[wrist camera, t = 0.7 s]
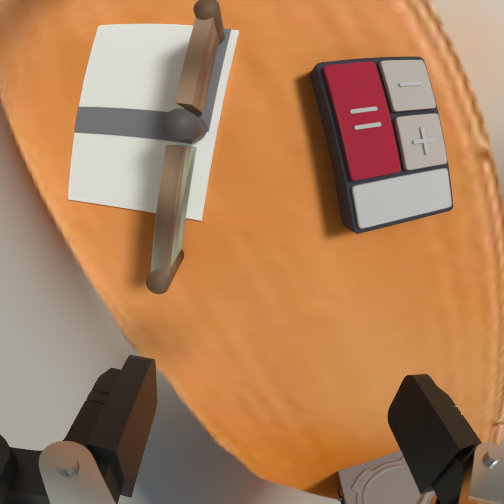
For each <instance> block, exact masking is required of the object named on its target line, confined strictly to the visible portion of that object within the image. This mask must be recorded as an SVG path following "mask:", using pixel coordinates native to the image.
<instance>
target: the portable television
mask: <svg viewBox="0 0 504 504" xmlns="http://www.w3.org/2000/svg"><path fill="white" fill-rule="evenodd" d="M338 473H339V478H340V483H341V487H339V488H338V489H337V493H338V496H337V498H338V501H341V504H430V501H431V499H432V498H433V496H434V495H435V492H434V491H431V492H428V493H424V494H420V492H419V490H418V488H417V485H416V483H415V481H414V478H413V476H412V474H411V472H410V469H409V467H408V465H407V463H406V461H405V458H404V456H403V454H402V452H401V450H399V451H396V452H394V453H391V454H388V455H386V456H383V457H380V458H377V459H374V460H371V461H369V462H365V463H362V464H359V465H356V466H353V467H350V468H346V469H343V470H339V471H338ZM340 488H342V493H343V496H340V494H339V489H340ZM344 501H345V502H344Z"/></svg>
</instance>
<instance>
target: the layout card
mask: <svg viewBox="0 0 504 504" xmlns="http://www.w3.org/2000/svg"><path fill="white" fill-rule="evenodd" d="M192 29H193V26H191V25H174V24H116V25H100V26H98V29H97V33H96V36H95V39H94V43H93V46H92V50H91V54H90V58H89V62H88V66H87V70H86V74H85V78H84V83H83V88H82V92H81V97H80V103H79V107H78V113H77V119H76V125H75V132H74V140H73V148H72V157H71V167H70V178H69V192H68V200H75V201H82V202H88V203H95V204H101V205H108V206H114V207H121V208H127V209H133V210H140V211H146V212H152V213H156V210H157V202H158V194H159V186H160V179H161V172H162V166H163V159H164V153H165V147H166V145H185V146H192V147H197V151H196V156H195V162H194V168H193V174H192V180H191V186H190V193H189V199H188V206H187V213H186V218H188V219H194V220H200V221H202V216H203V210H204V204H205V198H206V192H207V186H208V180H209V174H210V169H211V163H212V157H213V152H214V147H215V141H216V136H217V131H218V126H219V121H220V116H221V111H222V106H223V101H224V96H225V91H226V87H227V82H228V78H229V73H230V69H231V64H232V60H233V55H234V51H235V47H236V43H237V38H238V34H239V31H237V30H231V29H224V34H225V38H224V41H223V42H222V43H221V44H219V46H218V50H217V54H216V58H215V63H214V67H213V71H212V76H211V80H210V85H209V89H208V94H207V99H206V104H205V108H204V113H203V114H202V113H195V112H190V113H192V114H194V115H195V116H197V117H198V118H200V119H201V120H203V121H204V122H205V124H206V127H207V132H206V135H205V136H204V138H203V139H201V140H200V141H197V142H188V141H177V140H172V139H170V138H168V137H167V136H166V135H165V133H164V131H163V128H162V123H163V119H164V117H165V116H166V114H167V113H169V112H170V111H171V110H174V109H178V108H181V109H184V108H183V107H181V106H180V105H178V104H176V103H175V101H176V96H177V91H178V87H179V82H180V77H181V73H182V69H183V65H184V60H185V56H186V52H187V48H188V44H189V40H190V37H191V33H192ZM185 110H186V109H185ZM187 111H188V110H187Z"/></svg>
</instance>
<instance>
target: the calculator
mask: <svg viewBox="0 0 504 504" xmlns="http://www.w3.org/2000/svg"><path fill="white" fill-rule="evenodd" d="M310 77H311V81H312V84H313V88H314V92H315V95H316V99H317V103H318V107H319V111H320V115H321V119H322V123H323V127H324V131H325V135H326V139H327V143H328V147H329V152H330V156H331V161H332V165H333V170H334V174H335V179H336V189H337V194H338V199H339V205H340V211H341V216H342V222H343V224H344V225H345V226H346V227H347V228H349V229H350V230H352V231H353V232H355V233H363V232H367V231H371V230H375V229H379V228H383V227H387V226H391V225H395V224H399V223H403V222H407V221H411V220H415V219H419V218H423V217H427V216H431V215H435V214H439V213H443V212H447V211H450V210H452V208H453V199H452V190H451V181H450V174H449V167H448V160H447V154H446V148H445V143H444V137H443V132H442V127H441V123H440V118H439V114H438V109H437V105H436V101H435V97H434V93H433V90H432V86H431V82H430V79H429V76H428V72H427V69H426V66H425V63H424V60H423V59H422V58H421V57H379V58H362V59H350V60H339V61H330V62H322V63H318V64H317V65H316V66H315V67H314V69H313V70H312V71H311V73H310Z"/></svg>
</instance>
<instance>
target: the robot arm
mask: <svg viewBox="0 0 504 504" xmlns="http://www.w3.org/2000/svg"><path fill="white" fill-rule="evenodd" d="M156 406H157V386H156V366H155V360H154V359H150V358H144V357H139V356H134V355H130V356H129V357H128V358H127V360H126V362H125V364H124V366H123V368H122V370H119V369H115V368H110V369H109V370H108V371H106V372H105V373H104V374H102V375H101V376H100V377H99V378H98V380H97V381H96V383H95V385H94V387H93V388H92V391H91V392H90V394H89V395H88V397H87V401H85V402H84V404H83V406H82V408H81V410H80V412H79V413H78V415H77V417H76V419H75V421H74V423H73V424H72V426H71V428H70V430H69V432H68V434H67V436H66V438H65V439H64V440H63V441H59V442H55V443H52V444H50V445H49V446H47V447H46V448H45V449H44V450H43V451H34V450H26V449H19V448H11V447H9V445H8V443H7V442H6V440H5V439H4V438H3V437H2V436H1V435H0V504H118V500H119V497H120V495H123V496H127V497H132V492H133V489H134V486H135V481H136V478H137V475H138V471H139V467H140V464H141V460H142V457H143V453H144V450H145V446H146V443H147V439H148V436H149V433H150V429H151V426H152V422H153V419H154V416H155V412H156ZM388 423H389V426H390V428H391V430H392V432H393V435H394V437H395V439H396V441H397V443H398V445H399V447H400V450H401V452H402V454H403V456H404V458H405V461H406V463H407V465H408V467H409V469H410V472H411V474H412V476H413V478H414V481H415V483H416V485H417V488H418V490H419V492H420V494H424V493H428V492H431V491H434V492H435V495H434V496H433V498H432V499H431V501H430V504H504V449H502V448H501V447H500V446H499V445H497V444H495V443H492V442H484V443H482V442H481V441H480V439H479V438H478V437H477V435H476V434H475V432H474V431H473V429H472V428H471V426H470V425H469V423H468V422H467V421H466V419H465V418H464V416H463V415H461V412H460V411H459V409H458V408H457V407H455V404H454V402H453V401H452V399H451V398H450V397H449V395H448V394H446V393H445V392H444V391H442V390H441V389H440V388H439V387H437V386H436V384H435V383H434V381H433V380H432V379H431V377H430V376H429V375H427V374H419V375H407V376H406V377H405V378H404V379H403V381H402V383H401V385H400V387H399V389H398V392H397V394H396V396H395V398H394V400H393V402H392V404H391V406H390V408H389V410H388Z"/></svg>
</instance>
